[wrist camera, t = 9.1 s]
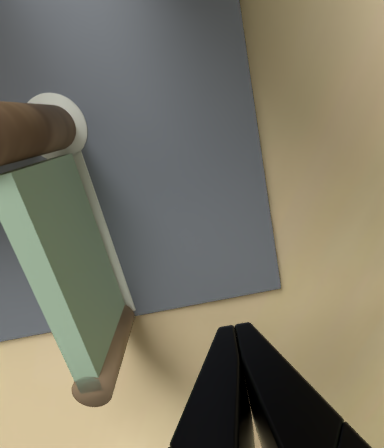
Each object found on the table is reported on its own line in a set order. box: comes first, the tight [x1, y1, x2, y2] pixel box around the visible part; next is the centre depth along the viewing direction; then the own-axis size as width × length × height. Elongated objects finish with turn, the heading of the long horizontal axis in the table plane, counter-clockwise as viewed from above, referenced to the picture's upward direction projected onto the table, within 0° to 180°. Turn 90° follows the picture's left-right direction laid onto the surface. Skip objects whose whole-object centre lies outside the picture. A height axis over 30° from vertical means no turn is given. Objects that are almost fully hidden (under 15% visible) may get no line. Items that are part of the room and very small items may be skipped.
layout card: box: [0, 0, 281, 342], centre depth 18 cm, size 20×28×1 cm
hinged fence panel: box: [0, 153, 134, 407], centre depth 16 cm, size 2×12×6 cm, turn 13°
